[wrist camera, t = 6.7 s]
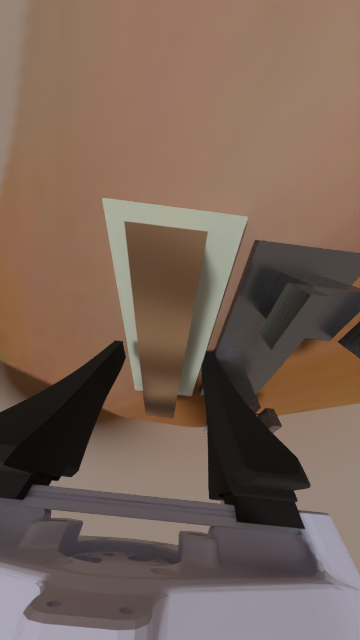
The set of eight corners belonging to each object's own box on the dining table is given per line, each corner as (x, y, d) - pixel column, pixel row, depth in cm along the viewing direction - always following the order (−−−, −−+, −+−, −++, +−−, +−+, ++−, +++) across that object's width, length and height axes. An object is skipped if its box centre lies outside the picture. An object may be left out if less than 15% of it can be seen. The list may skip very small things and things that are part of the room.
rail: (175, 390, 18) (173, 418, 15) (152, 387, 18) (145, 415, 15) (201, 232, 8) (208, 231, 5) (146, 225, 8) (124, 221, 5)
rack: (248, 396, 18) (266, 442, 14) (199, 390, 18) (202, 435, 14) (365, 254, 8) (540, 274, 4) (255, 240, 8) (322, 246, 4)
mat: (191, 393, 19) (191, 396, 18) (136, 387, 18) (135, 389, 18) (245, 217, 7) (248, 216, 7) (105, 199, 7) (101, 197, 7)
